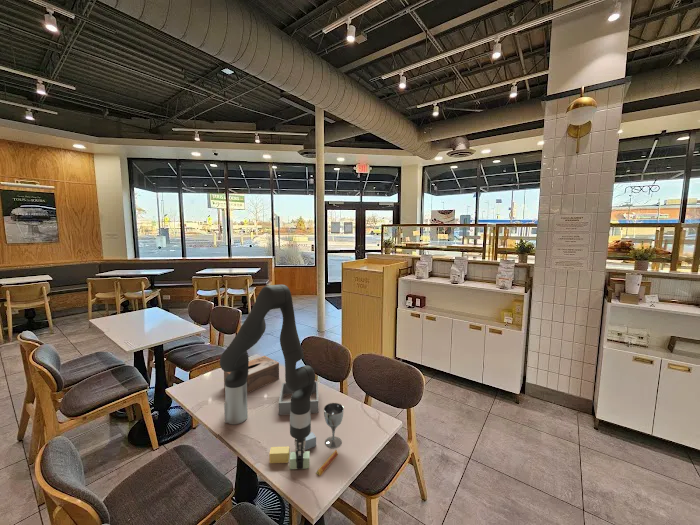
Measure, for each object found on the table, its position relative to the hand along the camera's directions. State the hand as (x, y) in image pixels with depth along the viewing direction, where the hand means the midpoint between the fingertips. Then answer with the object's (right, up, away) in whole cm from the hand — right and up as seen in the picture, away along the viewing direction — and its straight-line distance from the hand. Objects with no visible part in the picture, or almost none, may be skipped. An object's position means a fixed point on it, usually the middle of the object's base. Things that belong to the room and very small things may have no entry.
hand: (300, 463), depth 112 cm
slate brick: (+1, 0, +10) cm, 10 cm away
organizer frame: (-7, +4, +40) cm, 41 cm away
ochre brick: (-8, 0, +3) cm, 9 cm away
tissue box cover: (-37, +6, +58) cm, 69 cm away
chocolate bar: (+10, -2, +1) cm, 10 cm away
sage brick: (0, -1, 0) cm, 1 cm away
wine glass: (+12, 0, +13) cm, 17 cm away
